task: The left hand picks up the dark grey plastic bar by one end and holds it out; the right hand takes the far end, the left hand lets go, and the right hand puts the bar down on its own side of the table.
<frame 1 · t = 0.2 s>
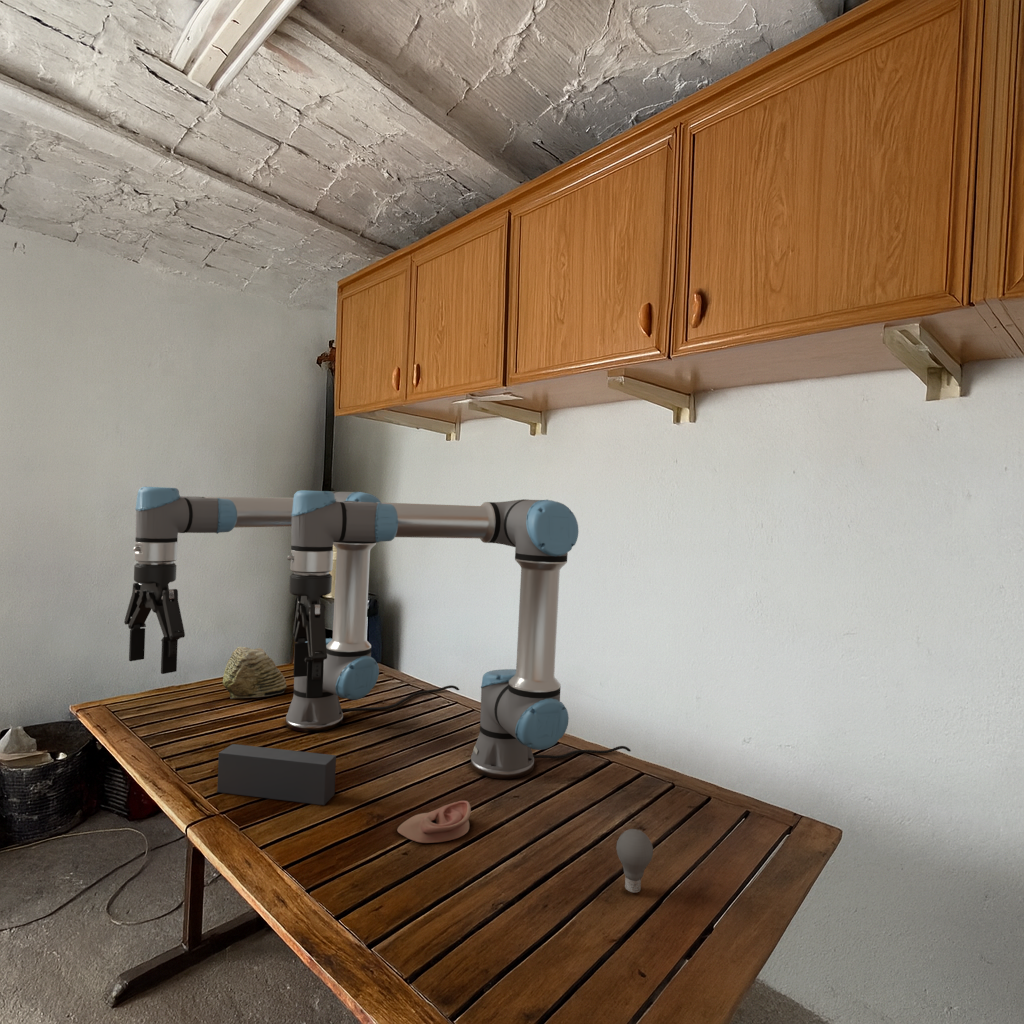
left hand: (152, 666, 129), 27 cm above the table, tool pointing down, fingers open, 13 cm apart
right hand: (307, 685, 119), 28 cm above the table, tool pointing down, fingers open, 13 cm apart
fossil: (254, 694, 198), on the table
anatomical model: (434, 829, 123), on the table
bar: (276, 793, 134), on the table
light bulb: (632, 891, 106), on the table
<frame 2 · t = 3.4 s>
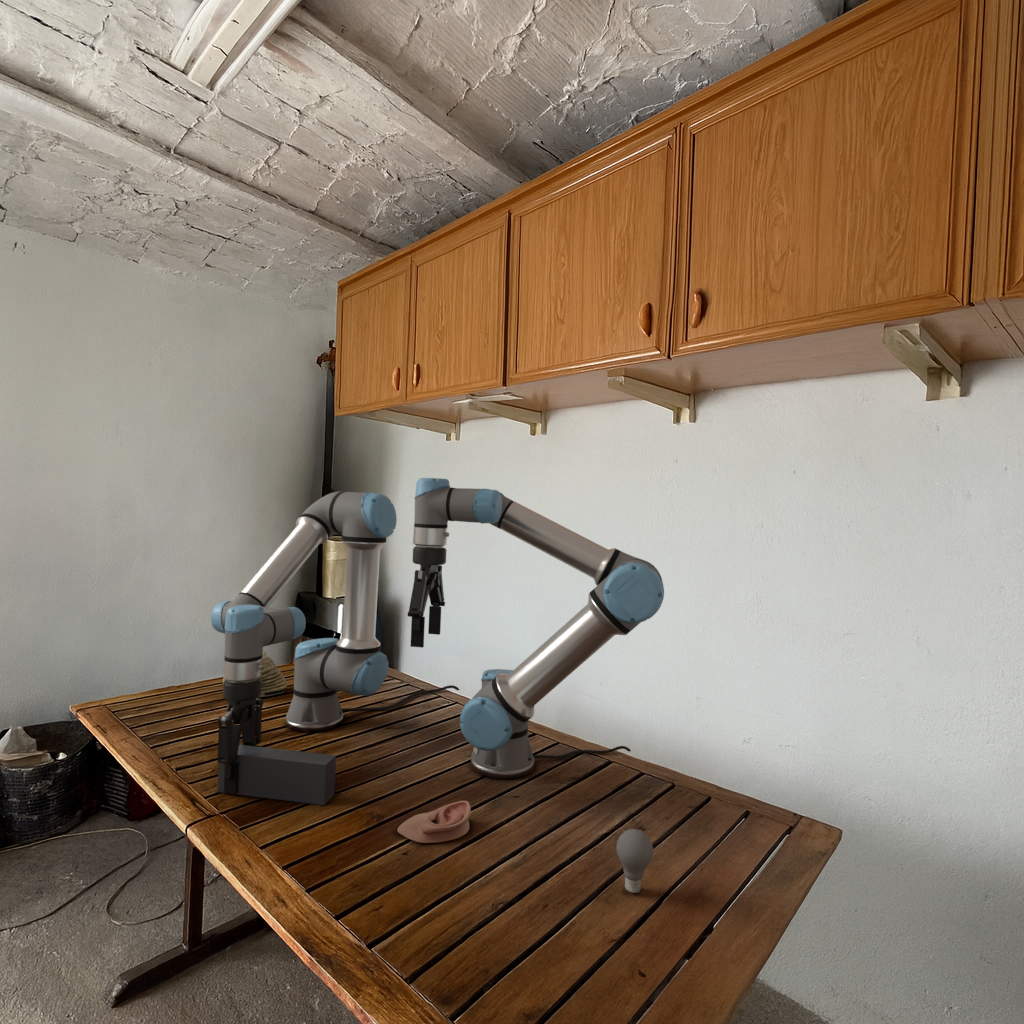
left hand: (238, 786, 136), 1 cm above the table, tool pointing down, fingers closed on bar, 5 cm apart
right hand: (426, 640, 143), 32 cm above the table, tool pointing down, fingers open, 13 cm apart
bar: (276, 793, 134), on the table, touching left hand
everything else where it was.
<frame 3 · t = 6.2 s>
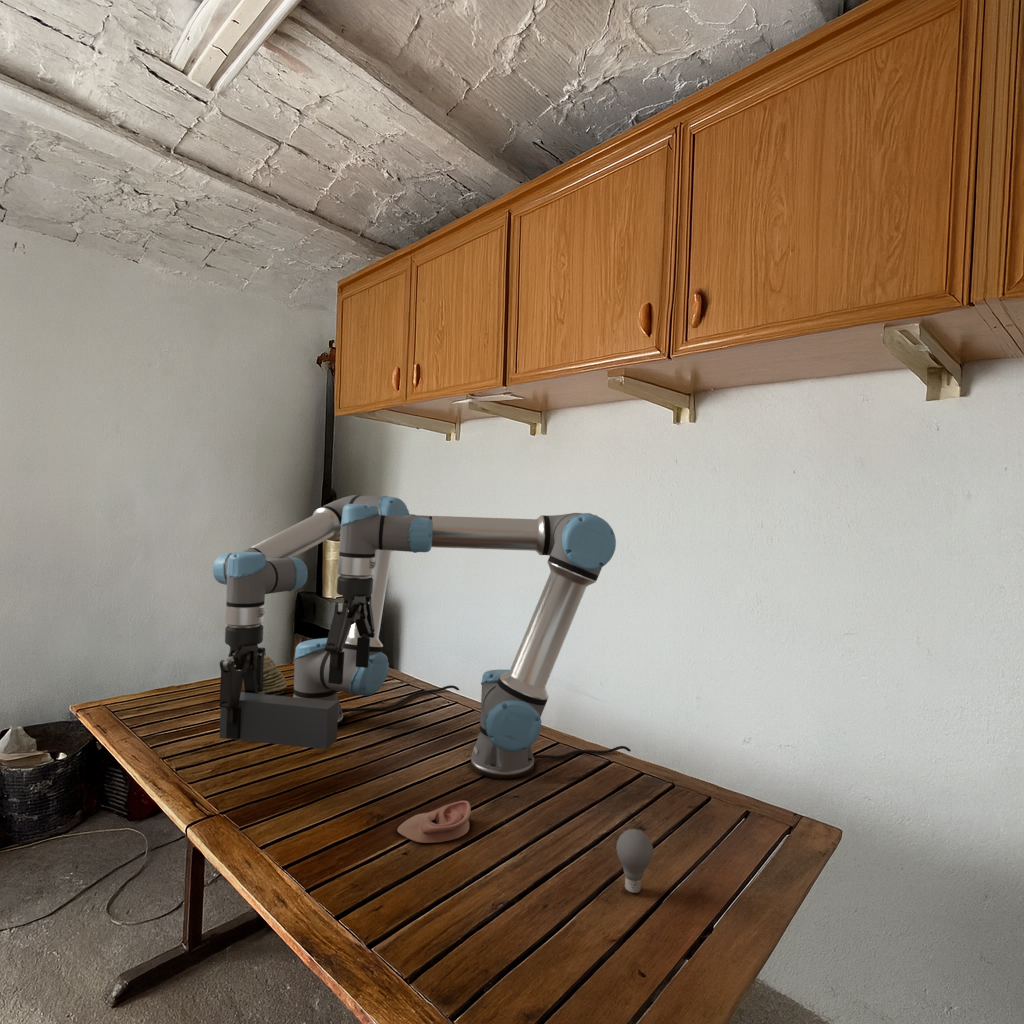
left hand: (240, 732, 136), 12 cm above the table, tool pointing down, fingers closed on bar, 5 cm apart
right hand: (349, 674, 136), 25 cm above the table, tool pointing down, fingers open, 13 cm apart
bar: (278, 739, 134), point 12 cm above the table, touching left hand
everything else where it was.
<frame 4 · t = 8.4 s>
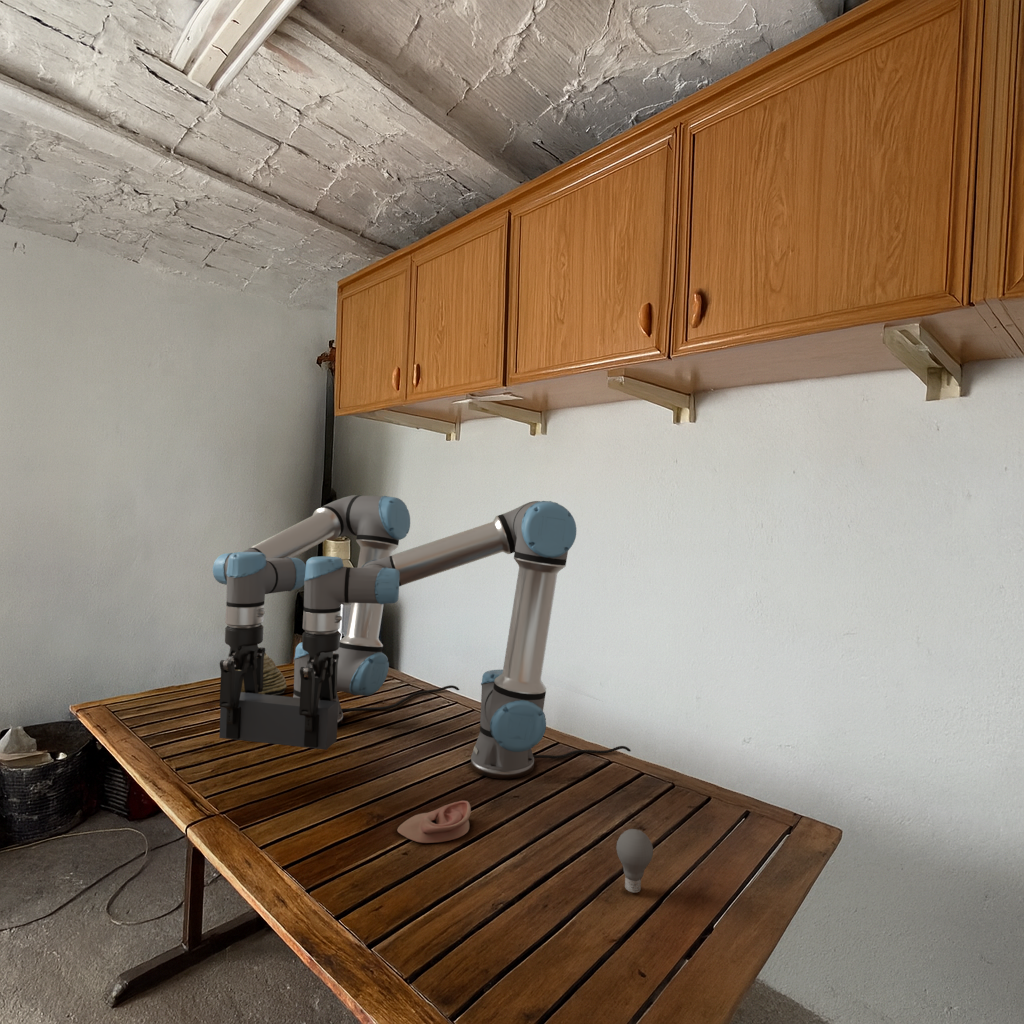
left hand: (240, 732, 136), 12 cm above the table, tool pointing down, fingers closed on bar, 5 cm apart
right hand: (317, 740, 133), 12 cm above the table, tool pointing down, fingers closed on bar, 5 cm apart
bar: (278, 739, 134), point 12 cm above the table, touching left hand, right hand
everything else where it was.
when the left hand's fingers open (12 cm above the table, at t = 9.1 s): bar stays where it is, held by the right hand.
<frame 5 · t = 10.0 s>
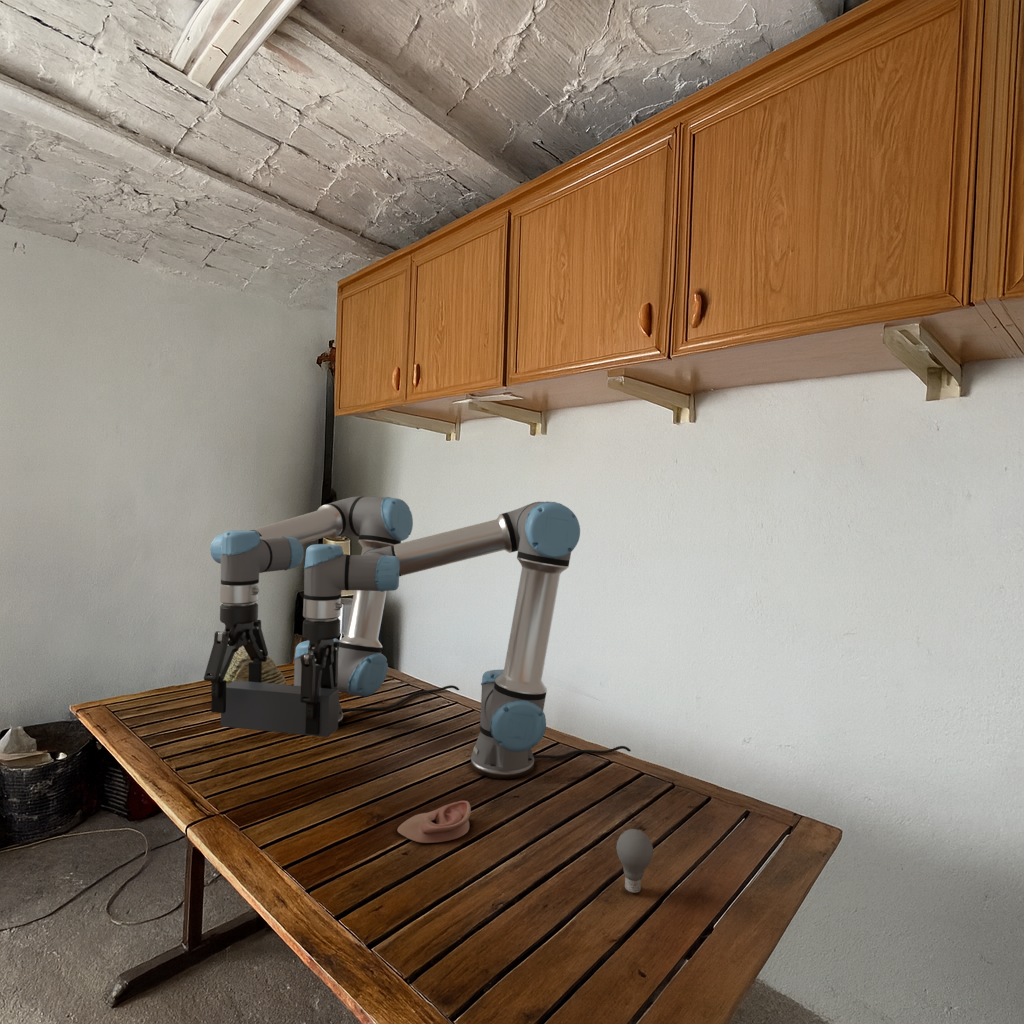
left hand: (237, 701, 136), 19 cm above the table, tool pointing down, fingers open, 13 cm apart
right hand: (318, 728, 133), 15 cm above the table, tool pointing down, fingers closed on bar, 5 cm apart
bar: (279, 727, 134), point 14 cm above the table, touching right hand
everything else where it was.
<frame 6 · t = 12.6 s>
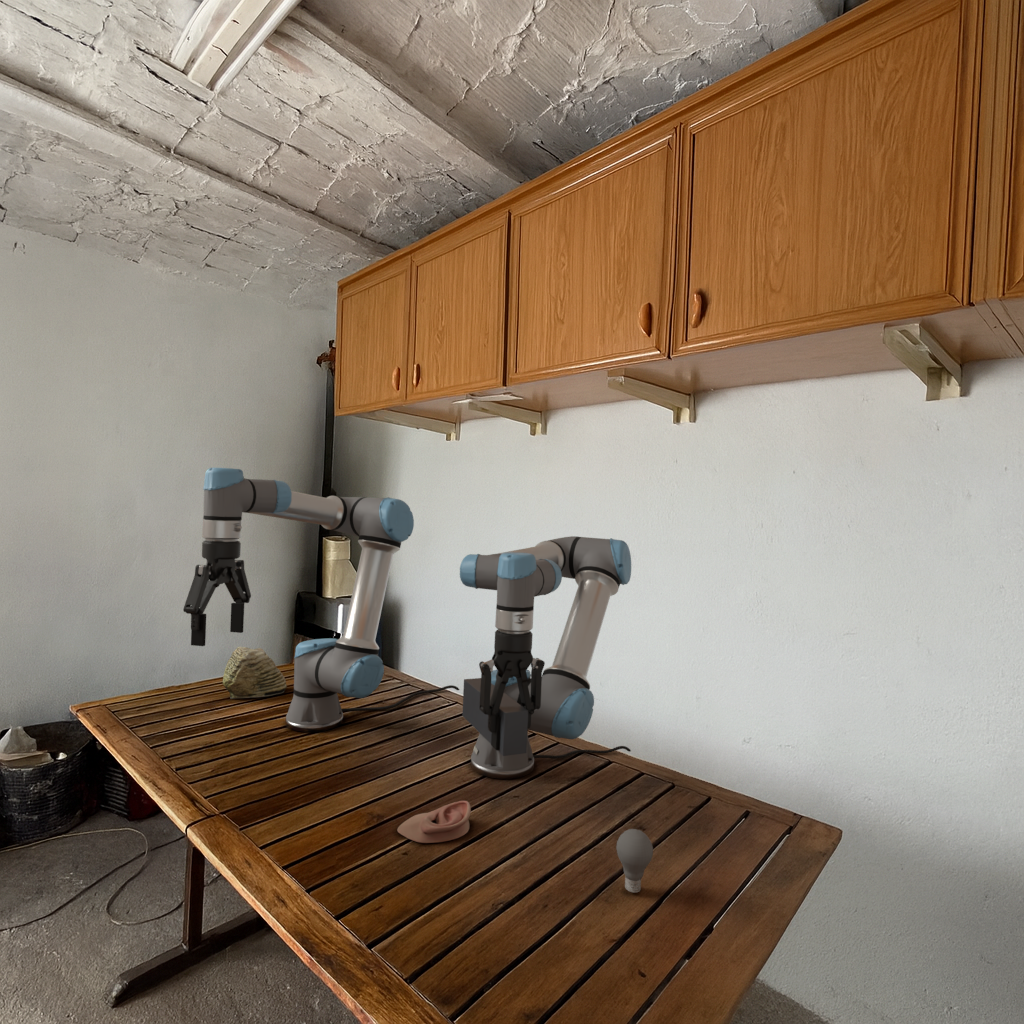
left hand: (218, 638, 136), 32 cm above the table, tool pointing down, fingers open, 13 cm apart
right hand: (508, 745, 127), 15 cm above the table, tool pointing down, fingers closed on bar, 5 cm apart
bar: (491, 733, 135), point 15 cm above the table, touching right hand
everything else where it was.
when the right hand's fingers open (2 cm above the table, at t = 16.7 s): bar drops 2 cm, on the table.
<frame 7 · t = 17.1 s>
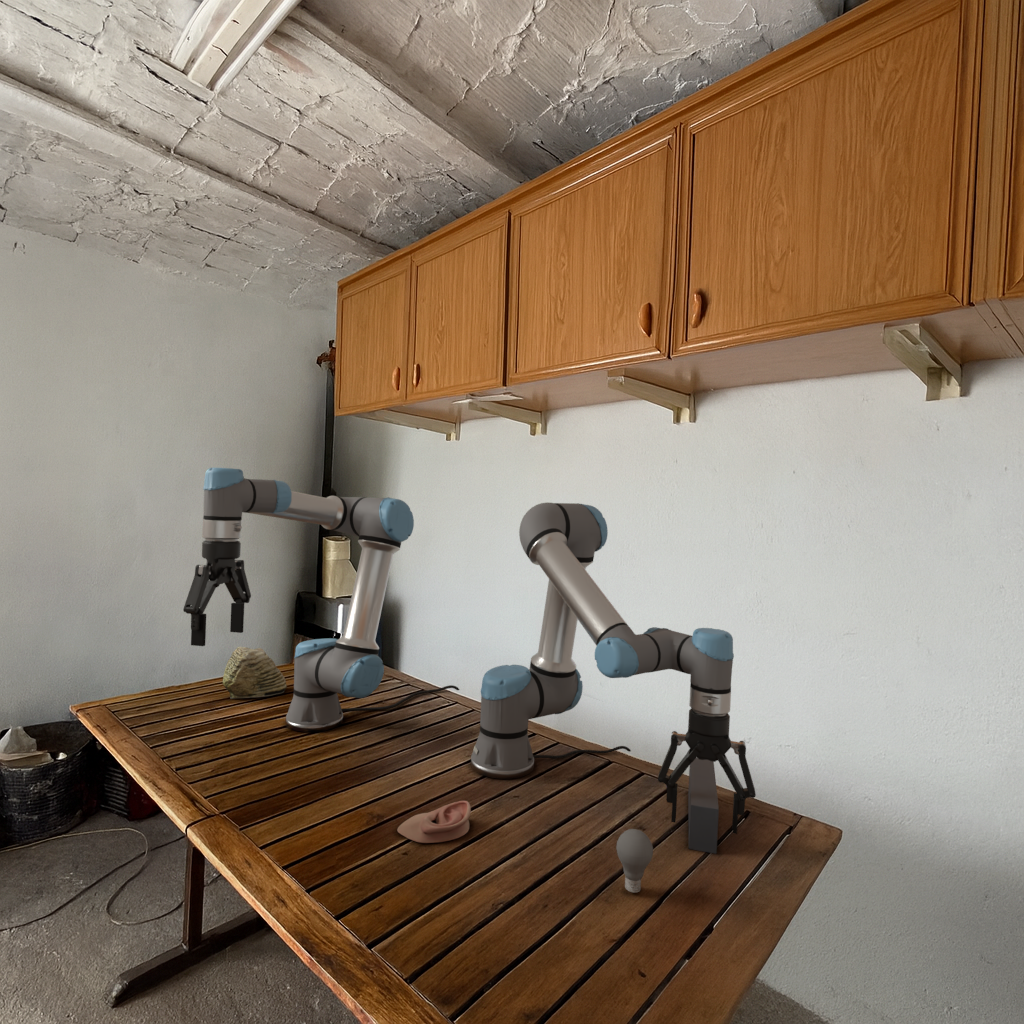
left hand: (218, 638, 136), 32 cm above the table, tool pointing down, fingers open, 13 cm apart
right hand: (703, 824, 122), 4 cm above the table, tool pointing down, fingers open, 10 cm apart
bar: (701, 821, 131), on the table
everything else where it was.
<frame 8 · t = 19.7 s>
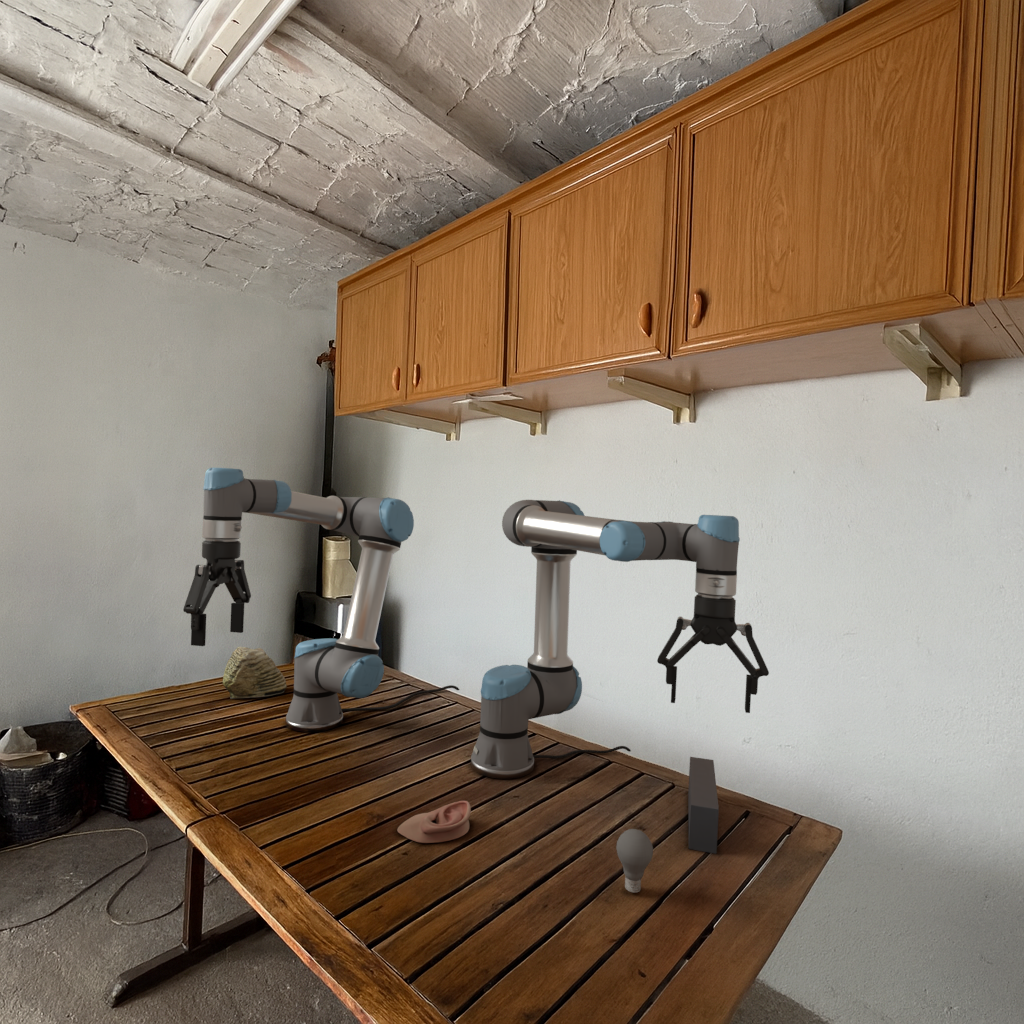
left hand: (218, 638, 136), 32 cm above the table, tool pointing down, fingers open, 13 cm apart
right hand: (709, 706, 122), 27 cm above the table, tool pointing down, fingers open, 13 cm apart
nothing on the table moved.
at the end: bar inside the target area (8.8 cm from its centre), on the table; the left hand is holding nothing; the right hand is holding nothing; bar at rest at the end (0.0 cm/s) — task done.
